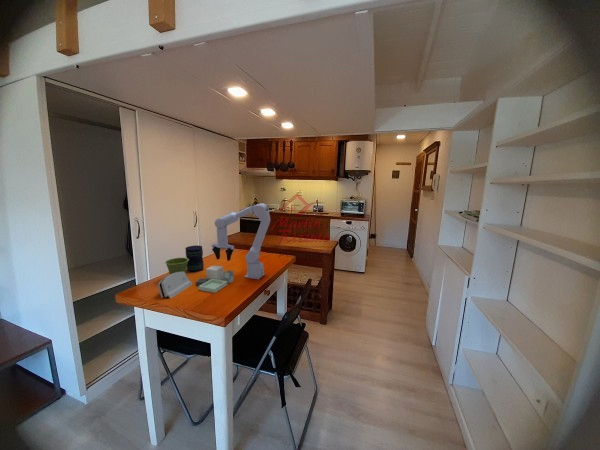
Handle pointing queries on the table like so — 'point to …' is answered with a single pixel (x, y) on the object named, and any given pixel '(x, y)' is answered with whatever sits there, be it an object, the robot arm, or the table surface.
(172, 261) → the plant pot
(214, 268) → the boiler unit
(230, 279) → the block
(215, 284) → the tray
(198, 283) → the square block
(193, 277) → the table surface
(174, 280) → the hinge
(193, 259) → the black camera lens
